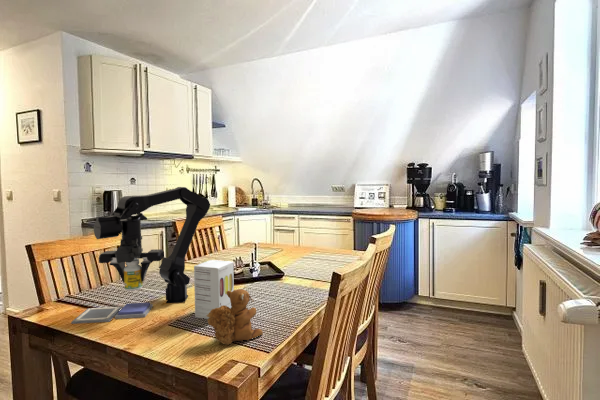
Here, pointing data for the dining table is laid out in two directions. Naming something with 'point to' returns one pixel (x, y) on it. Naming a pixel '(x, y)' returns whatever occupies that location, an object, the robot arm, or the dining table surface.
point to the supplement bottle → (132, 276)
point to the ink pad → (134, 310)
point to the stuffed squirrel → (234, 319)
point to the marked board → (97, 315)
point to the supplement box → (212, 286)
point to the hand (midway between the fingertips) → (133, 281)
